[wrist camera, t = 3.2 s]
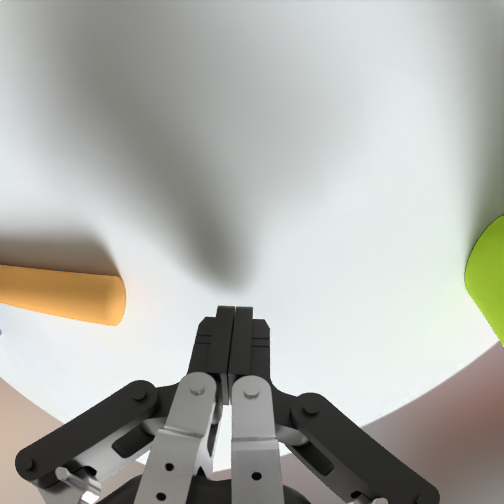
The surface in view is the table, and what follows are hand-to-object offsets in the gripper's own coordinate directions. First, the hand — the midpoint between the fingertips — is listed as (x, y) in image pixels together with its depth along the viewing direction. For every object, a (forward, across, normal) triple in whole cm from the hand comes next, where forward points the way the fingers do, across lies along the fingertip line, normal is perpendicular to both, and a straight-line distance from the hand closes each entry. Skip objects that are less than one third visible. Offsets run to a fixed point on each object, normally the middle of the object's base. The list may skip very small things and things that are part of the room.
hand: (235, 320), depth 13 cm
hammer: (+1, +14, 0) cm, 14 cm away
